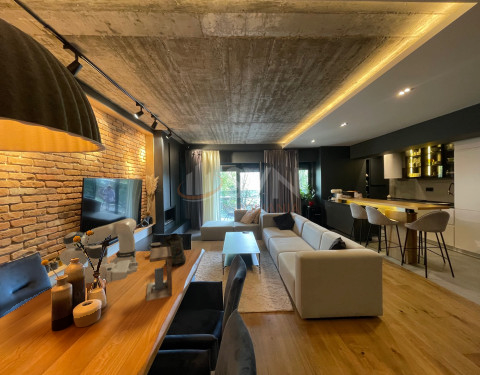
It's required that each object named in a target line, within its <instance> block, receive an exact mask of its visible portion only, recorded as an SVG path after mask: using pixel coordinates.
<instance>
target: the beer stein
mask: <svg viewBox="0 0 480 375" xmlns="http://www.w3.org/2000/svg"><path fill="white" fill-rule="evenodd" d="M166 245H167V247H169V246H170V250H171V255H172V268H173V267H175V268H176V267H180V266H184V265H185V264H186V260H187V257H186V255H185V252H184V246H183V237H182V236H181V235H179V234H178V233H177V232H176V233H175V232H174V233H171V234H170V236H168V237H165V239H164V241H163V242H162V243H161V247H166ZM164 261H165V265H166V266H167V260H164Z"/></svg>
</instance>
